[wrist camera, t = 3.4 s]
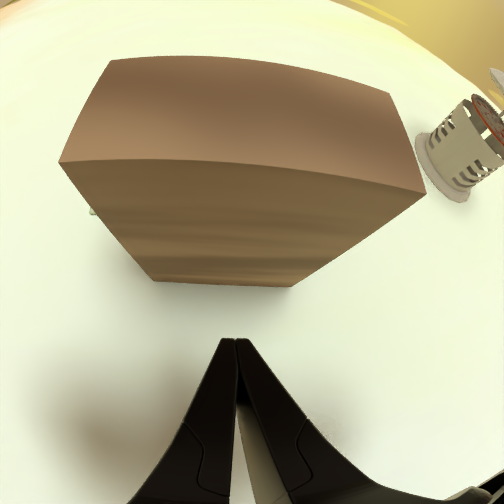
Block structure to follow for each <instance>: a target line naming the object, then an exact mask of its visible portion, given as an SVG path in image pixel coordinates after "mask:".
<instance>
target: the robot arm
mask: <svg viewBox="0 0 504 504" xmlns="http://www.w3.org/2000/svg"><path fill="white" fill-rule="evenodd" d="M236 413H237V418H238V424H239V429H240V434H241V439H242V444H243V449H244V453H245V458H246V463H247V467H248V472H249V476H250V481H251V485H252V490H253V494H254V498H255V502H256V504H504V469H503V470H502V471H500V472H499V473H497V474H496V475H494V476H493V477H491V478H490V479H488V480H486V481H485V482H483V483H482V484H480V485H479V486H477V487H474V486H471V487H468V488H466V489H464V490H462V491H460V492H458V493H457V494H455V495H453V496H451V497H449V498H447V499H445V500H435V499H431V498H426V497H422V496H417V495H413V494H409V493H406V492H402V491H398V490H395V489H391V488H388V487H385V486H383V485H380V484H378V483H376V482H375V481H373V480H371V479H370V478H369V477H367V476H366V475H365V474H364V473H362V472H361V471H360V470H359V469H358V468H357V467H355V466H354V465H353V464H352V463H351V462H350V461H349V460H348V459H346V458H345V457H344V456H343V455H342V454H341V453H340V452H339V451H338V450H337V449H335V448H334V447H333V446H332V445H331V444H330V443H329V442H328V441H327V440H326V439H325V437H324V436H323V435H322V434H321V433H320V432H319V431H318V429H317V428H316V427H315V426H314V425H313V423H312V422H311V421H310V420H309V419H307V416H306V415H305V413H304V412H303V411H302V410H301V408H300V407H299V406H298V405H297V403H296V402H295V401H294V399H293V398H292V397H291V395H290V394H289V393H288V392H287V390H286V389H285V388H284V386H283V385H282V384H281V382H280V381H279V380H278V378H277V377H276V376H275V374H274V373H273V372H272V370H271V369H270V368H269V366H268V365H267V364H266V362H265V361H264V359H263V358H262V357H261V355H260V354H259V353H258V351H257V350H256V348H255V347H254V346H253V344H252V343H251V341H250V340H249V339H247V338H237V339H233V338H222V339H221V340H220V342H219V344H218V347H217V349H216V351H215V353H214V355H213V357H212V359H211V361H210V364H209V366H208V368H207V370H206V372H205V374H204V376H203V378H202V380H201V383H200V385H199V387H198V389H197V391H196V393H195V395H194V397H193V399H192V401H191V404H190V406H189V408H188V410H187V412H186V414H185V416H184V418H183V420H182V421H183V422H182V423H181V424H180V426H179V428H178V430H177V432H176V434H175V436H174V438H173V440H172V442H171V444H170V445H169V447H168V449H167V450H166V452H165V453H164V455H163V457H162V458H161V460H160V461H159V463H158V464H157V465H156V467H155V468H154V470H153V471H152V472H151V474H150V475H149V477H148V478H147V479H146V481H145V482H144V483H143V485H142V486H141V487H140V489H139V490H138V491H137V493H136V494H135V495H134V496H133V497H132V499H131V500H130V501H129V502H128V503H127V504H229V500H230V499H229V497H230V486H231V471H232V457H233V444H234V430H235V416H236Z"/></svg>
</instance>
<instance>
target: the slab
mask: <svg viewBox="0 0 504 504" xmlns="http://www.w3.org/2000/svg"><path fill="white" fill-rule="evenodd" d="M58 163H59V164H60V166H61V167H62V169H63V170H64V171H65V173H66V174H67V176H68V177H69V179H70V180H71V181H72V183H73V184H74V185H75V187H76V188H77V190H78V191H79V192H80V194H81V195H82V196H83V198H84V199H85V200H86V201H87V203H88V204H89V205H90V207H91V208H92V209H93V211H94V212H95V213H96V214H97V216H98V217H99V218H100V219H101V221H102V222H103V223H104V224H105V226H106V227H107V228H108V229H109V230H110V232H111V233H112V234H113V235H114V237H115V238H116V239H117V240H118V241H119V242H120V244H121V245H122V246H123V247H124V248H125V249H126V251H127V252H128V253H129V254H130V255H131V256H132V258H133V259H134V260H135V261H136V262H137V263H138V264H139V265H140V267H141V268H142V269H143V270H144V271H145V272H146V273H147V274H148V275H149V276H150V278H151V279H152V280H153V281H162V282H178V283H196V284H216V285H239V286H268V287H292V286H293V285H295V284H297V283H298V282H300V281H301V280H303V279H304V278H306V277H308V276H309V275H311V274H312V273H314V272H315V271H317V270H318V269H320V268H322V267H323V266H325V265H326V264H328V263H329V262H331V261H332V260H334V259H335V258H337V257H338V256H340V255H341V254H343V253H344V252H346V251H347V250H349V249H350V248H352V247H353V246H355V245H356V244H358V243H359V242H361V241H362V240H363V239H365V238H366V237H368V236H369V235H371V234H372V233H374V232H375V231H376V230H378V229H379V228H381V227H382V226H384V225H385V224H386V223H388V222H389V221H391V220H392V219H393V218H395V217H396V216H398V215H399V214H400V213H402V212H403V211H404V210H406V209H407V208H409V207H410V206H411V205H413V204H414V203H415V202H417V201H418V200H419V199H421V198H422V197H423V196H425V195H426V194H427V193H426V190H425V186H424V183H423V179H422V176H421V173H420V170H419V166H418V163H417V160H416V158H415V155H414V152H413V149H412V146H411V144H410V141H409V138H408V136H407V133H406V130H405V128H404V126H403V123H402V121H401V118H400V116H399V114H398V111H397V109H396V107H395V105H394V102H393V100H392V98H391V96H390V94H389V93H387V92H385V91H382V90H379V89H376V88H373V87H370V86H367V85H364V84H361V83H358V82H355V81H352V80H348V79H345V78H341V77H338V76H334V75H330V74H326V73H322V72H318V71H314V70H309V69H304V68H300V67H294V66H289V65H284V64H278V63H271V62H265V61H257V60H249V59H239V58H228V57H212V56H154V57H139V58H128V59H119V60H111V61H110V62H109V64H108V65H107V67H106V68H105V70H104V72H103V73H102V75H101V77H100V78H99V80H98V81H97V83H96V85H95V87H94V88H93V90H92V92H91V94H90V95H89V97H88V99H87V101H86V103H85V105H84V107H83V109H82V110H81V112H80V114H79V116H78V118H77V121H76V123H75V125H74V127H73V129H72V131H71V133H70V136H69V138H68V140H67V142H66V145H65V147H64V149H63V152H62V154H61V157H60V159H59V162H58Z"/></svg>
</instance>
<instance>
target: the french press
mask: <svg viewBox="0 0 504 504" xmlns="http://www.w3.org/2000/svg"><path fill="white" fill-rule="evenodd" d="M489 70H490V75H491V77H492V79H493V81H494V82H495V84H496V85H497V87H498V88H499V89H500V91H501V92H502V93H503V95H504V73H503V72H502V71H499V70H497V69H494V68H490V69H489ZM471 100H472V102H470V101H469V100H466V99H464V100H463V101H462V102H461V103H460V104H458V105H457V107H456V108H455V109H454V110H453V111H452V112H451V113H452V115H450V114H451V113H450V114H449V116H448V117H446V118H445V119H446V120H445V119H444V120H445V122H444V121H443V122H442V123H441V124H440V125H439V126H438V127H439V128H438V127H437V128H436V129H435V130H434V131H433V132H432V133H431V134H430V133H420V134H419V135H418V136H417V137H416V141H415V149H416V152H417V156H418V160H419V161H420V163H421V165H422V167H423V169H424V171H425V173H426V174H427V176H428V177H429V178H430V180H431V181H432V182H433V183H434V185H435V186H436V187H437V189H438V190H440V191H441V192H442V193H443V194H444V195H445V196H447V197H448V198H449V199H451V200H453V201H456V202H458V203H461V202H465V201H467V199H468V197H469V195H470V188H472V187H473V186H475V185H476V183H479V182H480V181H482V180H483V178H485V177H487V176H489V175H490V173H492V172H494V171H495V170H497V169H498V167H501V166H502V165H503V164H504V123H503V122H504V121H502V118H500V117H502V116H503V115H504V110H503V111H502V112H501V113H500V114H499V115H498V113H497V112H496V111H495V109H493V107H491V105H489V103H488V102H487V101H486V100H484V98H482V97H481V96H479V95H477V94H473V95H472V96H471ZM463 106H465V107H466V108H467V109H468V110H469V112H470V114H471V116H470V117H468V116H467V114H466V112H465V110H464V108H463ZM448 119H451V121H452V122H453V124H454V125H455V127H454V125H453V124H451V123H450V122H449V121H448ZM442 125H444V128H443V127H442ZM487 128H488V129H489V130H490V132H491V133H492V134H491V135H489V136H488V137H487V138H486V139H485V140H484V139H483V138H482V137H481V134H482V133H483V132H484V131H485V130H486V129H487ZM497 154H499V155H500V156H501V158H502V159H501V158H500V157H499V156H498V155H497ZM482 166H484V167H487V169H488V172H486V171H484V169H483V168H482ZM492 169H495V170H492ZM477 173H478V174H481V177H478V175H477ZM485 174H488V175H486V176H485ZM480 179H481V180H480ZM479 180H480V181H479Z"/></svg>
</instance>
